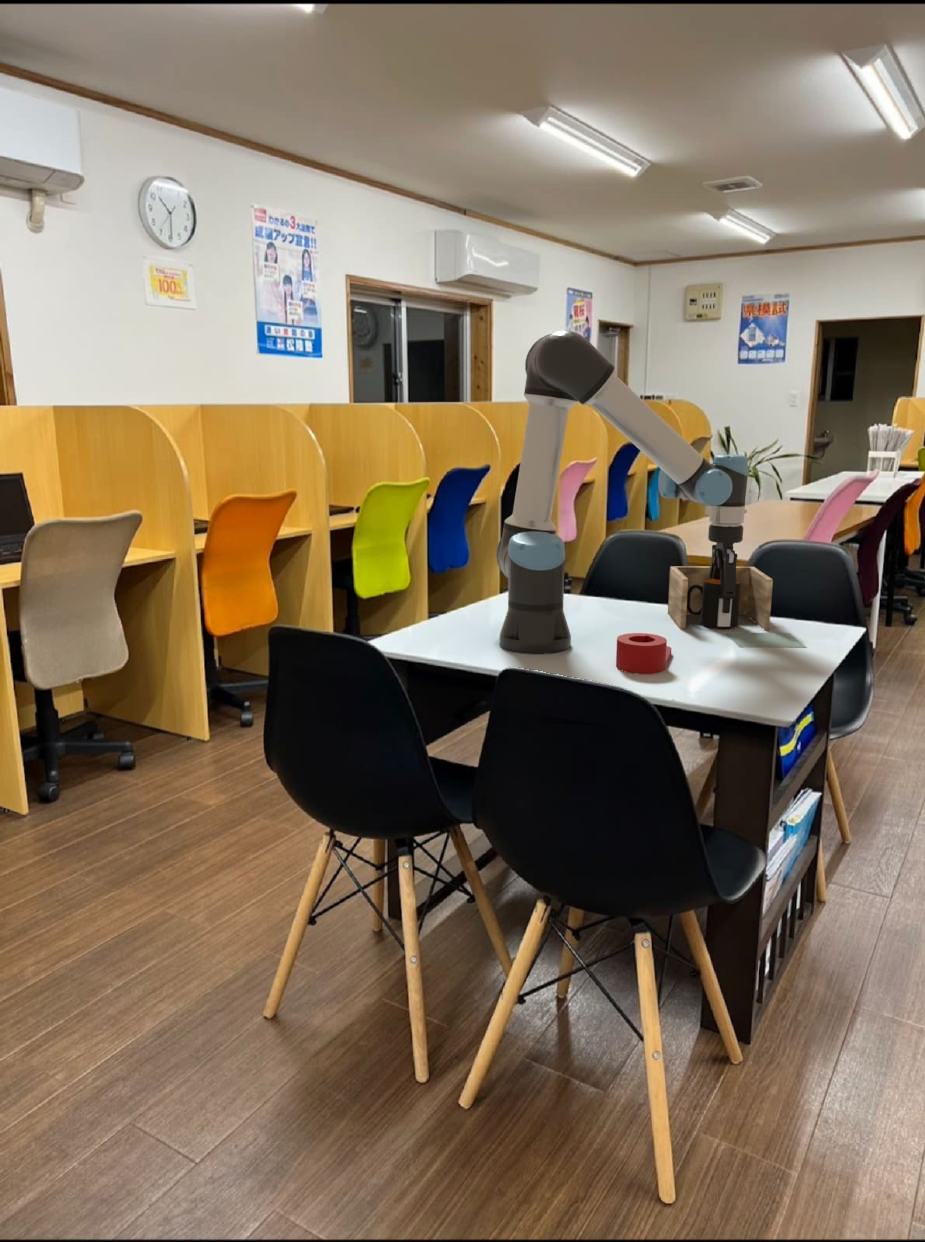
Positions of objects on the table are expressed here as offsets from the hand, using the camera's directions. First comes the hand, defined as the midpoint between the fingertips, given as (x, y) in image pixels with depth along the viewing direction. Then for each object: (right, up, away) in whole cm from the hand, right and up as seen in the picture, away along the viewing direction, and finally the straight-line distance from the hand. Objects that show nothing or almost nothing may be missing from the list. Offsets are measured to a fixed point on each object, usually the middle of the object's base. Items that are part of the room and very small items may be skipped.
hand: (719, 621), depth 207 cm
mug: (-2, -1, +1) cm, 2 cm away
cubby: (0, 0, +4) cm, 4 cm away
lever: (-23, -9, -30) cm, 39 cm away
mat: (+6, -5, -14) cm, 16 cm away
